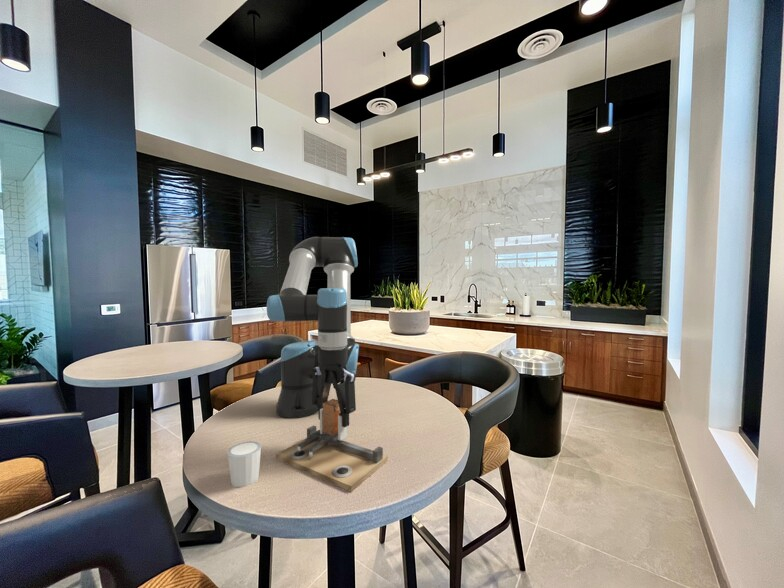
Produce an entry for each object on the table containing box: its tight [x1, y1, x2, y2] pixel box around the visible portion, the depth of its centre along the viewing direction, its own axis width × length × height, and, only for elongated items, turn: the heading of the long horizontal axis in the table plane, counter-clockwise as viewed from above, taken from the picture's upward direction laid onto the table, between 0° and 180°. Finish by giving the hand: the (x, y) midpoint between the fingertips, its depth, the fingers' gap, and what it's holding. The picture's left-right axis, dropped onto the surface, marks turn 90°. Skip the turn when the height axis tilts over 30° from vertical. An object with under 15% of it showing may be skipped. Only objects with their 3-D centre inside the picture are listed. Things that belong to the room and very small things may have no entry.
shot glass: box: [227, 440, 262, 488], centre depth 71 cm, size 7×7×7 cm
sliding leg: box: [309, 398, 340, 458], centre depth 81 cm, size 4×11×11 cm, turn 148°
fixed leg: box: [298, 429, 322, 454], centre depth 83 cm, size 4×11×2 cm, turn 148°
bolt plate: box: [275, 425, 389, 493], centre depth 78 cm, size 24×14×4 cm, turn 58°
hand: (333, 434), depth 83 cm, fingers open, 6 cm apart
